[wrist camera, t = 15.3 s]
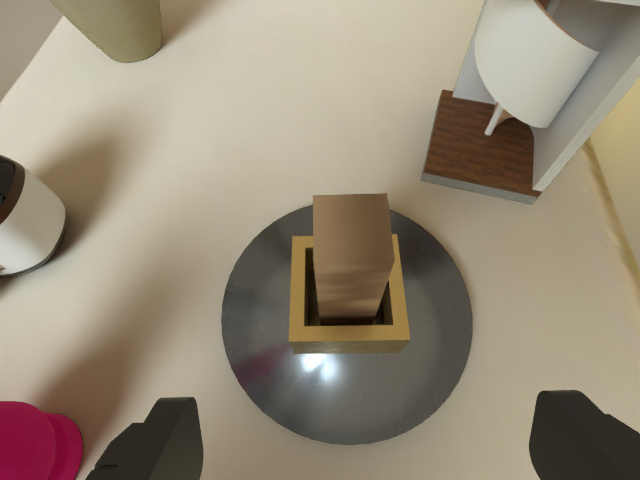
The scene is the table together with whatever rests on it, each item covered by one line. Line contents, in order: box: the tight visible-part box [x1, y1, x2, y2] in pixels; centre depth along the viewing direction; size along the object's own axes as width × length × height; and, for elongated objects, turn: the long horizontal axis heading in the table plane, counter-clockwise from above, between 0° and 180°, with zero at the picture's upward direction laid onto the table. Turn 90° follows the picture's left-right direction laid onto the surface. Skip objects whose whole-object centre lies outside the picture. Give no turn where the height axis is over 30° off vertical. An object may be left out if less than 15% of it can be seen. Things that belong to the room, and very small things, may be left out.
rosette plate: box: [221, 205, 472, 445], centre depth 28 cm, size 20×20×5 cm
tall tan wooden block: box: [313, 194, 395, 326], centre depth 24 cm, size 4×4×12 cm
